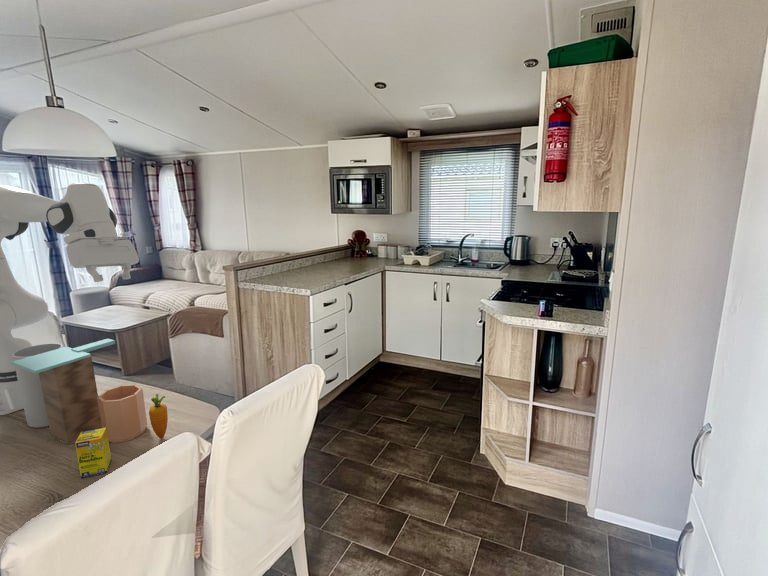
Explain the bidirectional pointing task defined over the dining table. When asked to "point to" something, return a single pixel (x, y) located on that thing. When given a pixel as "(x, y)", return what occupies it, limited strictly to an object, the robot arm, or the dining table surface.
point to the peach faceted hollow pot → (122, 412)
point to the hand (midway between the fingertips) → (113, 280)
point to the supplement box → (93, 452)
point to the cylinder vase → (33, 386)
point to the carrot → (158, 417)
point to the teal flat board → (59, 356)
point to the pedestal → (71, 399)
